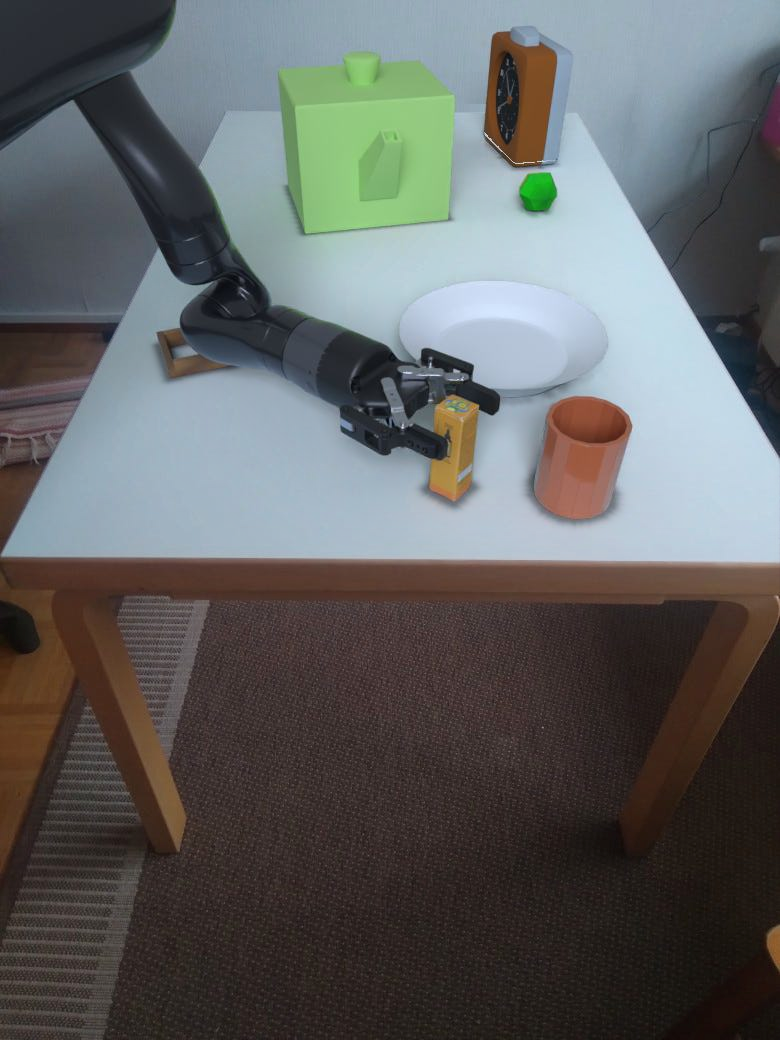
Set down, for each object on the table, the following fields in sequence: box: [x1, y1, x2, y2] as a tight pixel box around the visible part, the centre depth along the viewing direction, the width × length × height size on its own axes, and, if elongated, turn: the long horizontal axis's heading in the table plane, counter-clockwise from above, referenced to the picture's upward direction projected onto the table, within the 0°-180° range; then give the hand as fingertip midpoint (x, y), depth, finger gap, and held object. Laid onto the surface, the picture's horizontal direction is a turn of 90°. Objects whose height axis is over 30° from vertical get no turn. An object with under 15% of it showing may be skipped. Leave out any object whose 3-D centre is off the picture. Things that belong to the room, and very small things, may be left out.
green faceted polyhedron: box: [518, 171, 558, 211], centre depth 122 cm, size 7×6×9 cm
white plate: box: [398, 280, 609, 399], centre depth 90 cm, size 25×25×4 cm
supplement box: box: [428, 394, 480, 503], centre depth 70 cm, size 3×3×10 cm
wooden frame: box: [155, 327, 232, 379], centre depth 90 cm, size 8×8×2 cm
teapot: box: [277, 50, 456, 235], centre depth 116 cm, size 24×35×22 cm
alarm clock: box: [483, 25, 574, 168], centre depth 135 cm, size 18×9×21 cm, turn 14°
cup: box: [533, 395, 633, 520], centre depth 70 cm, size 8×8×9 cm
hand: (472, 427), depth 67 cm, fingers open, 8 cm apart
